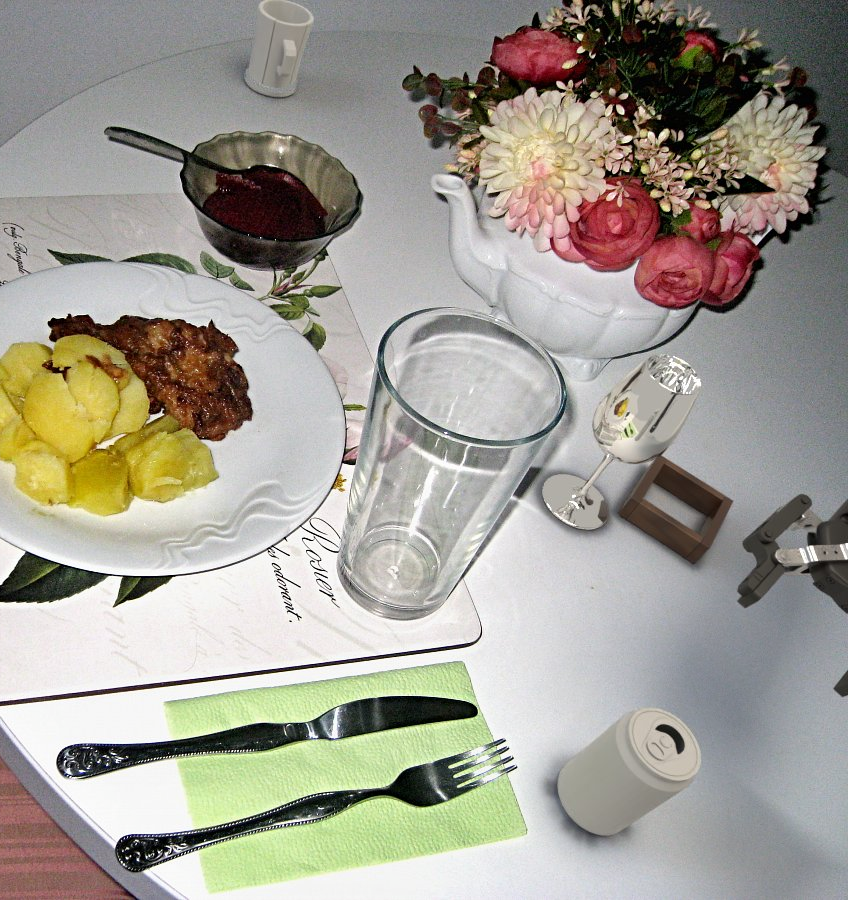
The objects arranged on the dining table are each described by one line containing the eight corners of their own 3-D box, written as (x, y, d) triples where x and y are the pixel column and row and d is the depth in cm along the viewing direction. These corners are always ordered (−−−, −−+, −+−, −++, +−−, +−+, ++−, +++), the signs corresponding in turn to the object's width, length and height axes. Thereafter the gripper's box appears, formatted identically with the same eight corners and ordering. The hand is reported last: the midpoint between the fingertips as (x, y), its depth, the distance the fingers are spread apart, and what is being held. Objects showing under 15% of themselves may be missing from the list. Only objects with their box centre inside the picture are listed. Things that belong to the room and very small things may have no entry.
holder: (718, 516, 102) (733, 500, 100) (693, 564, 96) (709, 548, 94) (645, 470, 104) (659, 453, 102) (617, 513, 99) (631, 497, 97)
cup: (313, 96, 148) (333, 24, 140) (277, 109, 143) (295, 35, 134) (268, 66, 152) (284, -6, 143) (231, 78, 147) (246, 4, 138)
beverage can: (639, 813, 76) (723, 757, 67) (593, 854, 73) (674, 801, 64) (585, 749, 79) (658, 688, 70) (538, 786, 76) (608, 726, 67)
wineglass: (527, 494, 98) (619, 363, 83) (564, 464, 102) (658, 334, 88) (585, 543, 95) (691, 415, 80) (620, 509, 99) (727, 383, 85)
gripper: (858, 432, 70) (744, 556, 64) (1025, 565, 65) (920, 711, 60) (797, 474, 76) (689, 590, 70) (946, 598, 72) (844, 732, 66)
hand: (795, 645), depth 65 cm, fingers open, 8 cm apart
